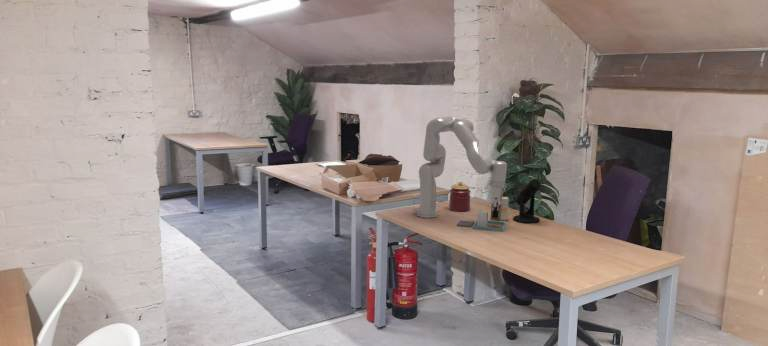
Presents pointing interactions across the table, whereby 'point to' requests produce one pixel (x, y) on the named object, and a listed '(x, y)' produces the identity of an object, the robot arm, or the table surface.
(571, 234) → the table surface
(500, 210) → the walnut block
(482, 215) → the grey block
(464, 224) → the mat
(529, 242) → the table surface
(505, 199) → the supplement box
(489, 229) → the tray
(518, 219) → the microphone
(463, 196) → the canister
